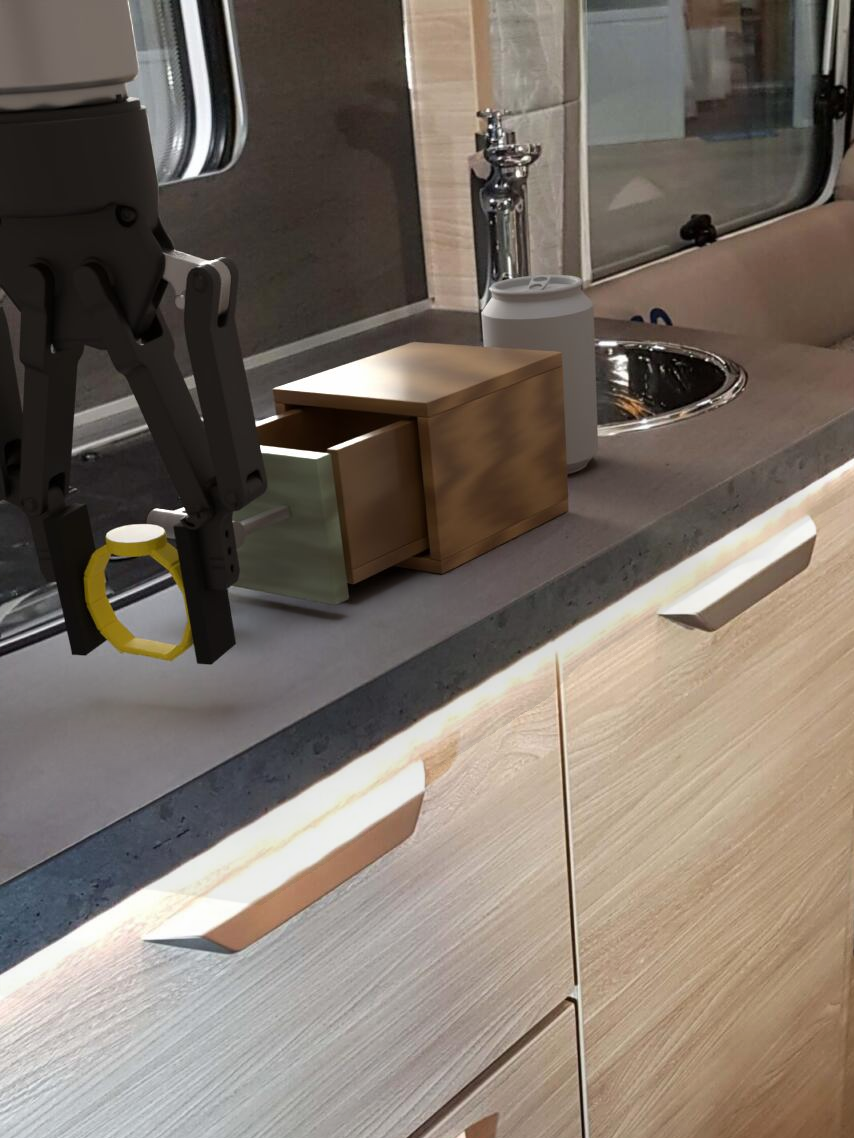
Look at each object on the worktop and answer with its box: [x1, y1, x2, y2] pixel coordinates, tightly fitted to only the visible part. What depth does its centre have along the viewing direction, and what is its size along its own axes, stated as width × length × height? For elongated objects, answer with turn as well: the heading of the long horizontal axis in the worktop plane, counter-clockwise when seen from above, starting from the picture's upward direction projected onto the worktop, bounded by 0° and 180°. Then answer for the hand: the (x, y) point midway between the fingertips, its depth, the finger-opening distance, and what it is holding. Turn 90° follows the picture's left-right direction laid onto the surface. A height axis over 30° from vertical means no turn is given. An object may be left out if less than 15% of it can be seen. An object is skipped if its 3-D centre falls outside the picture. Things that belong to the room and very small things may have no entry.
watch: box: [83, 523, 194, 662], centre depth 74 cm, size 6×3×6 cm, turn 68°
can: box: [481, 274, 599, 475], centre depth 105 cm, size 8×8×12 cm
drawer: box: [146, 406, 430, 606], centre depth 88 cm, size 18×10×8 cm, turn 145°
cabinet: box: [272, 341, 570, 575], centre depth 95 cm, size 14×12×10 cm
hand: (154, 648), depth 75 cm, fingers closed on watch, 6 cm apart
